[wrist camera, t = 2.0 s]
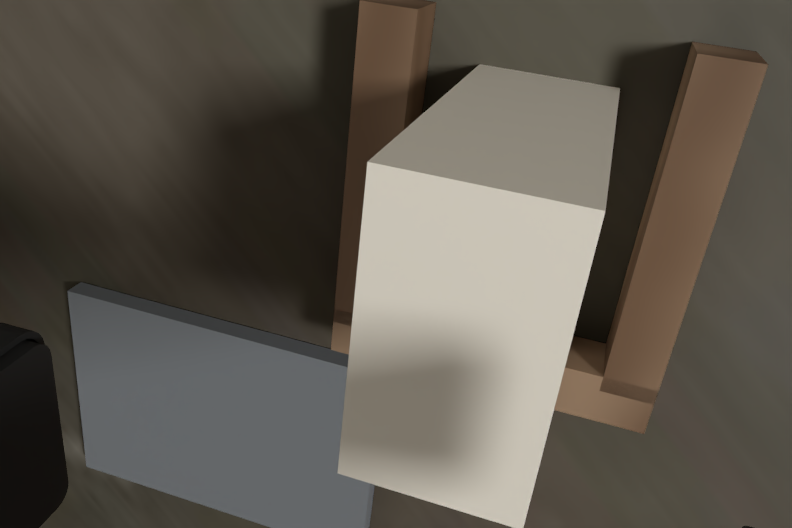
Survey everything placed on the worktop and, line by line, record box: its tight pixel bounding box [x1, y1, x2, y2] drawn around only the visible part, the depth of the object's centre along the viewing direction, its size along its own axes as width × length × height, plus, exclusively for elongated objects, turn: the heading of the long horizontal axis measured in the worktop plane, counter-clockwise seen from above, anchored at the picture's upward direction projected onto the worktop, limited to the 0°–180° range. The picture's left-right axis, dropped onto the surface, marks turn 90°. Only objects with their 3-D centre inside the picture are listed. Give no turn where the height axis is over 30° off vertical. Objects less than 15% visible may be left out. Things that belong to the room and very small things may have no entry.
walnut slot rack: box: [331, 0, 768, 434], centre depth 22 cm, size 10×11×2 cm
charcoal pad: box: [67, 282, 375, 528], centre depth 29 cm, size 13×9×1 cm
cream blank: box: [337, 64, 620, 528], centre depth 18 cm, size 4×7×10 cm, turn 174°
